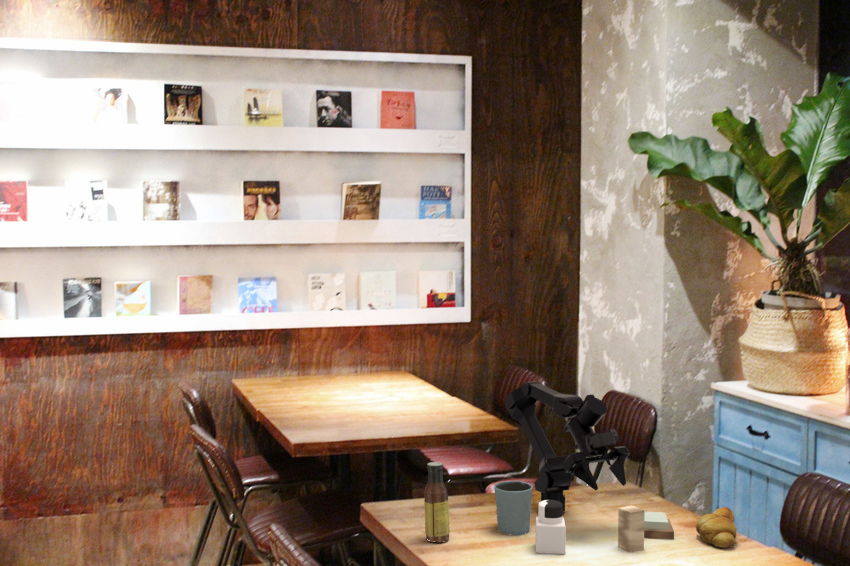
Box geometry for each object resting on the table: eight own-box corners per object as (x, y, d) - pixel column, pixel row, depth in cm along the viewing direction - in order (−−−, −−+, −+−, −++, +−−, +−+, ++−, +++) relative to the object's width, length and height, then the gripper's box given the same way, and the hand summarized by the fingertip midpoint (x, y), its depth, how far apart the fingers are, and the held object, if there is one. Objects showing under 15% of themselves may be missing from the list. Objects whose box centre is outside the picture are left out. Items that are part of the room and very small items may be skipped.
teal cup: (537, 527, 236) (537, 483, 235) (525, 538, 226) (525, 492, 226) (501, 522, 240) (501, 478, 239) (488, 533, 231) (488, 488, 230)
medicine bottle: (563, 544, 222) (564, 498, 221) (565, 554, 215) (566, 506, 214) (535, 543, 223) (535, 497, 222) (536, 553, 215) (536, 505, 215)
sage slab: (635, 528, 229) (635, 520, 229) (632, 518, 237) (632, 510, 237) (668, 530, 227) (668, 522, 227) (664, 519, 236) (664, 512, 236)
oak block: (617, 547, 220) (618, 507, 220) (631, 544, 223) (632, 505, 222) (630, 552, 216) (630, 512, 216) (643, 549, 219) (644, 510, 218)
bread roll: (740, 551, 218) (741, 520, 217) (700, 549, 219) (700, 517, 219) (731, 534, 230) (732, 504, 230) (693, 532, 232) (694, 502, 232)
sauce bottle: (452, 537, 227) (452, 461, 226) (445, 545, 221) (445, 467, 220) (428, 534, 229) (428, 459, 228) (420, 542, 223) (420, 465, 222)
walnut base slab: (630, 537, 228) (630, 529, 228) (627, 523, 239) (627, 516, 239) (673, 539, 226) (674, 531, 226) (668, 526, 237) (669, 518, 237)
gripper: (570, 422, 226) (597, 475, 216) (626, 416, 234) (654, 466, 225) (551, 446, 233) (576, 498, 224) (606, 439, 242) (632, 488, 232)
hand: (610, 487), depth 226 cm, fingers open, 9 cm apart
